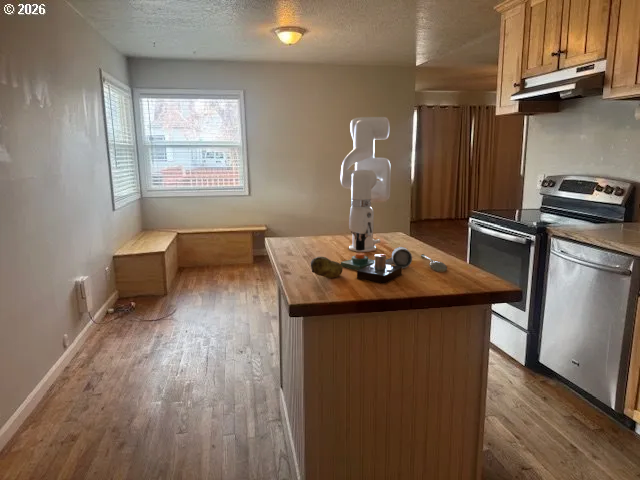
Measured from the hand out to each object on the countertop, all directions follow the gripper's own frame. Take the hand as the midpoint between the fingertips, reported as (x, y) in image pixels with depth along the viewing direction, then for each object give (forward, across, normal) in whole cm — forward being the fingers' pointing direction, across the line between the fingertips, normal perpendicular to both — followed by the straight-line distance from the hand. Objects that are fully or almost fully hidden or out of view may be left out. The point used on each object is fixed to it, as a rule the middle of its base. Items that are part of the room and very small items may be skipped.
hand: (360, 249), depth 173 cm
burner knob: (+4, -16, +4) cm, 17 cm away
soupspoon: (+7, -15, -25) cm, 30 cm away
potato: (+7, -6, +20) cm, 22 cm away
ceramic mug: (+7, -9, -12) cm, 16 cm away
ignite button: (+4, 0, 0) cm, 4 cm away
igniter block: (+6, 0, 0) cm, 7 cm away
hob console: (+7, -16, +4) cm, 18 cm away
